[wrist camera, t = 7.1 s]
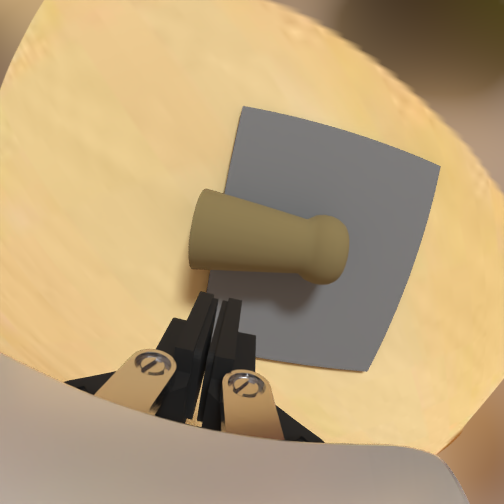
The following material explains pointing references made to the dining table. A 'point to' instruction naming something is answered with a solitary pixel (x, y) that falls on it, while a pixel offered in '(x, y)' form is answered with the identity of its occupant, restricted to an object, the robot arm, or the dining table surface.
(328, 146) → the mat
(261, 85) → the dining table surface
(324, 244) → the cork
